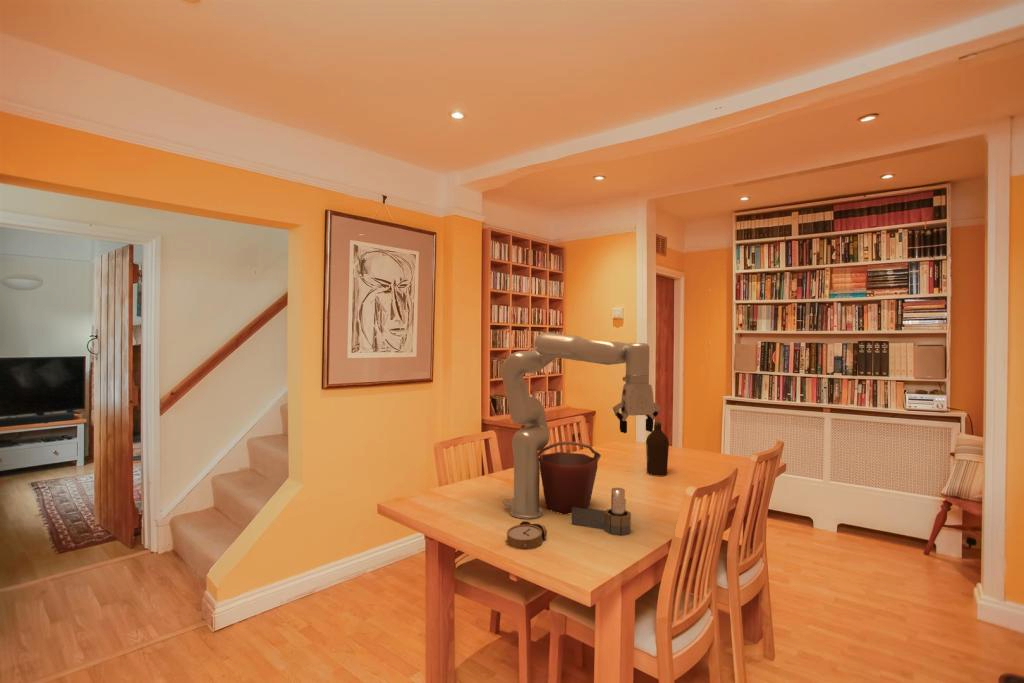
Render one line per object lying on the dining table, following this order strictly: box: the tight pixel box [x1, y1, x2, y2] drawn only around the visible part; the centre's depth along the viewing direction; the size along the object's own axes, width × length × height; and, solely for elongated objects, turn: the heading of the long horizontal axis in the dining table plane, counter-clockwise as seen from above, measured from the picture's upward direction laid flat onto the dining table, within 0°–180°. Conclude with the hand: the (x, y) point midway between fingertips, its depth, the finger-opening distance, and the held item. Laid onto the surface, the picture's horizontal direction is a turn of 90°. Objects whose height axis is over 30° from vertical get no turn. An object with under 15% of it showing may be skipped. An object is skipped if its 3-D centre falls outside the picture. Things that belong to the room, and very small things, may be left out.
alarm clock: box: [504, 520, 548, 550], centre depth 162 cm, size 11×5×15 cm
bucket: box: [537, 441, 601, 515], centre depth 194 cm, size 24×22×25 cm
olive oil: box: [645, 421, 670, 476], centre depth 245 cm, size 11×11×25 cm
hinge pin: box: [610, 487, 626, 516], centre depth 171 cm, size 4×4×14 cm
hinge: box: [570, 498, 632, 536], centre depth 179 cm, size 20×20×6 cm
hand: (636, 431), depth 167 cm, fingers open, 9 cm apart
